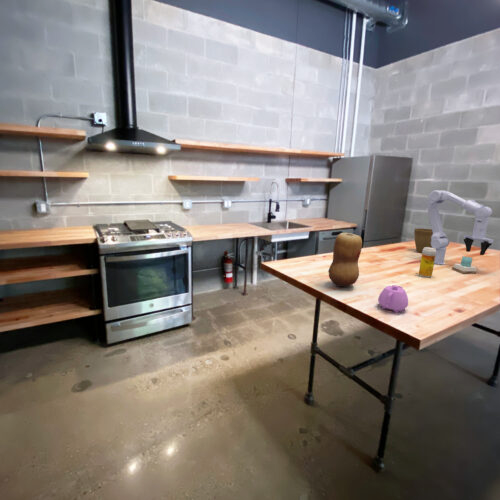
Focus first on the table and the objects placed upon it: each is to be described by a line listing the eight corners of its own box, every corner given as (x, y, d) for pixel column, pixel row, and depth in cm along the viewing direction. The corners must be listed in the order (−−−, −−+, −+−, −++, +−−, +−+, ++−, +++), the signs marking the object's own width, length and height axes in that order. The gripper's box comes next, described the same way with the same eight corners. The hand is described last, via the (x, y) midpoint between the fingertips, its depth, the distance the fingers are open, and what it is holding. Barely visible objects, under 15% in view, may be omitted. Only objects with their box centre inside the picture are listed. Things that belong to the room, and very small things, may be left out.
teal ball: (461, 266, 164) (463, 258, 162) (459, 263, 168) (461, 256, 167) (471, 267, 162) (473, 259, 161) (469, 265, 166) (471, 257, 165)
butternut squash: (353, 293, 130) (359, 237, 125) (323, 287, 137) (328, 234, 131) (360, 284, 142) (366, 233, 136) (332, 278, 149) (337, 229, 143)
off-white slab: (463, 271, 162) (464, 267, 161) (453, 267, 169) (454, 263, 168) (475, 271, 163) (476, 267, 162) (465, 267, 169) (466, 263, 169)
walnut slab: (462, 275, 162) (462, 271, 161) (451, 270, 170) (452, 267, 169) (475, 275, 162) (476, 271, 162) (464, 270, 170) (465, 267, 170)
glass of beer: (427, 278, 153) (431, 250, 149) (416, 274, 158) (420, 247, 155) (434, 276, 156) (439, 249, 152) (423, 273, 161) (427, 246, 157)
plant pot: (439, 255, 202) (444, 232, 198) (417, 254, 202) (421, 231, 198) (427, 250, 216) (431, 228, 213) (407, 249, 216) (410, 227, 213)
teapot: (372, 309, 115) (375, 286, 113) (385, 298, 126) (388, 277, 124) (400, 317, 108) (404, 294, 106) (412, 305, 119) (416, 283, 117)
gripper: (461, 227, 167) (457, 250, 170) (488, 231, 154) (483, 256, 157) (470, 226, 169) (466, 249, 173) (498, 231, 156) (492, 256, 159)
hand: (474, 253), depth 165 cm, fingers open, 7 cm apart
